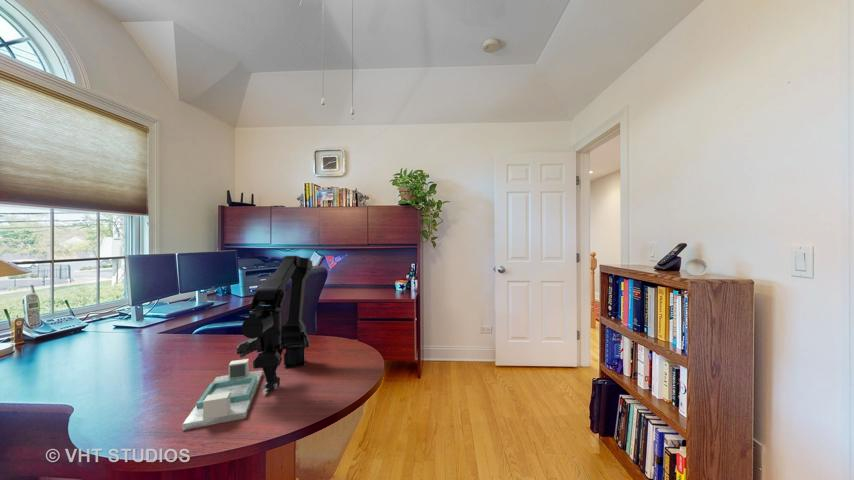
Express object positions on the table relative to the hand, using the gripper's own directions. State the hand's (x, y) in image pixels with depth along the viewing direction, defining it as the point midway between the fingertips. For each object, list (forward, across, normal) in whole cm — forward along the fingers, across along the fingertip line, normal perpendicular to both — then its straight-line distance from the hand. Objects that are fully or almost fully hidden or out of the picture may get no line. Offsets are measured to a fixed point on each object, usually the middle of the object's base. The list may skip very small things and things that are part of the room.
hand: (270, 378), depth 88 cm
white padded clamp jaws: (+2, 0, -11) cm, 11 cm away
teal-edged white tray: (+4, 0, -11) cm, 11 cm away
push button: (+4, 0, 0) cm, 4 cm away
